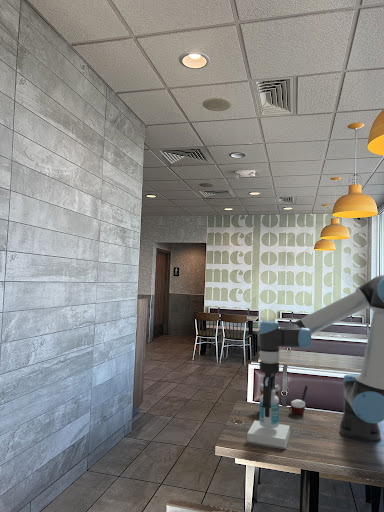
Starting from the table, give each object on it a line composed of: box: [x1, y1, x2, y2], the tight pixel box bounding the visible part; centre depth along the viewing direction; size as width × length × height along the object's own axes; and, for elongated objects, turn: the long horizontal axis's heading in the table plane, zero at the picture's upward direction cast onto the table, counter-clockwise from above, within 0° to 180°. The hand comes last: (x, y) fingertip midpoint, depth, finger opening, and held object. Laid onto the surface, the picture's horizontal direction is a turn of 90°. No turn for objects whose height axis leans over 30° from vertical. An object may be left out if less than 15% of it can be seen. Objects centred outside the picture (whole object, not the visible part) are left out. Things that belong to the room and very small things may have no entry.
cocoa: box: [288, 385, 309, 416], centre depth 174 cm, size 10×6×12 cm, turn 86°
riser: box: [246, 420, 291, 450], centre depth 146 cm, size 14×14×4 cm
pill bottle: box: [258, 389, 280, 428], centre depth 146 cm, size 8×7×14 cm
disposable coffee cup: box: [258, 382, 281, 398], centre depth 177 cm, size 10×10×12 cm
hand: (269, 421), depth 146 cm, fingers closed on pill bottle, 7 cm apart
